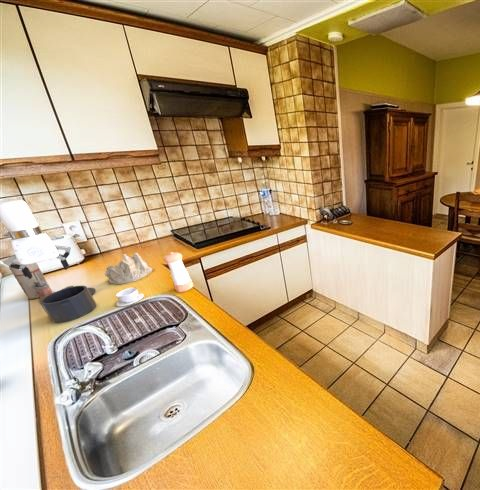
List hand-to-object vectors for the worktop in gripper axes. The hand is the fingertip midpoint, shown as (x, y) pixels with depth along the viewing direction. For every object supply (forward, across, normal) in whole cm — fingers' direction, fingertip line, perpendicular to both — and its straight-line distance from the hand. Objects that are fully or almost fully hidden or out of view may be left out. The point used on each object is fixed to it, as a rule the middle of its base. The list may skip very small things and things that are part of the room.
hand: (49, 272), depth 106 cm
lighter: (+20, -8, +27) cm, 35 cm away
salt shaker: (+19, +39, -16) cm, 46 cm away
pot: (+20, +1, 0) cm, 20 cm away
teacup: (+20, +19, -8) cm, 28 cm away
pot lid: (+19, +1, +17) cm, 26 cm away
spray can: (+20, -11, +36) cm, 43 cm away
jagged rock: (+20, +23, +22) cm, 37 cm away
